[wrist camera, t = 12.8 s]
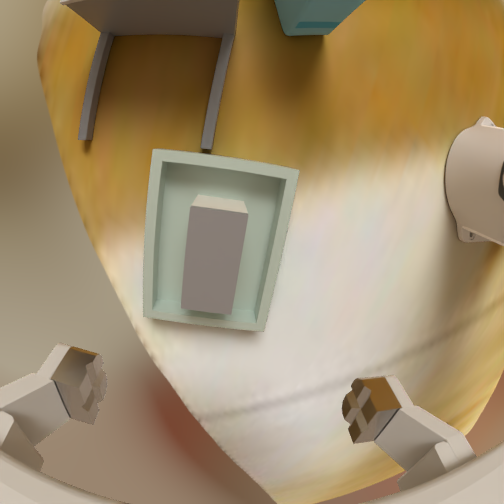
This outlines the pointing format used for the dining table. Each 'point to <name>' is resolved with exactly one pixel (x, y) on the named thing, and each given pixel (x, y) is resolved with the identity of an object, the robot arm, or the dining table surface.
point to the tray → (176, 225)
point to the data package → (313, 15)
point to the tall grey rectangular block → (213, 254)
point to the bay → (156, 22)
